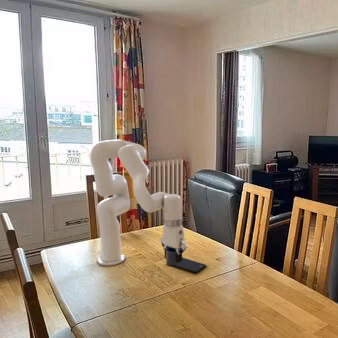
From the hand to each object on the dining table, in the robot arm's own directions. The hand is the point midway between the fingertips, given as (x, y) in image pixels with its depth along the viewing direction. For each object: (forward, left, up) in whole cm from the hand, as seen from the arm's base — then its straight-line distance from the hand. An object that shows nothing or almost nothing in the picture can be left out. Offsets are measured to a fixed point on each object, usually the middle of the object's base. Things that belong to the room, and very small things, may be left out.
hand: (173, 259), depth 149 cm
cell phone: (-1, +10, -7) cm, 12 cm away
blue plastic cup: (0, 0, -1) cm, 1 cm away
